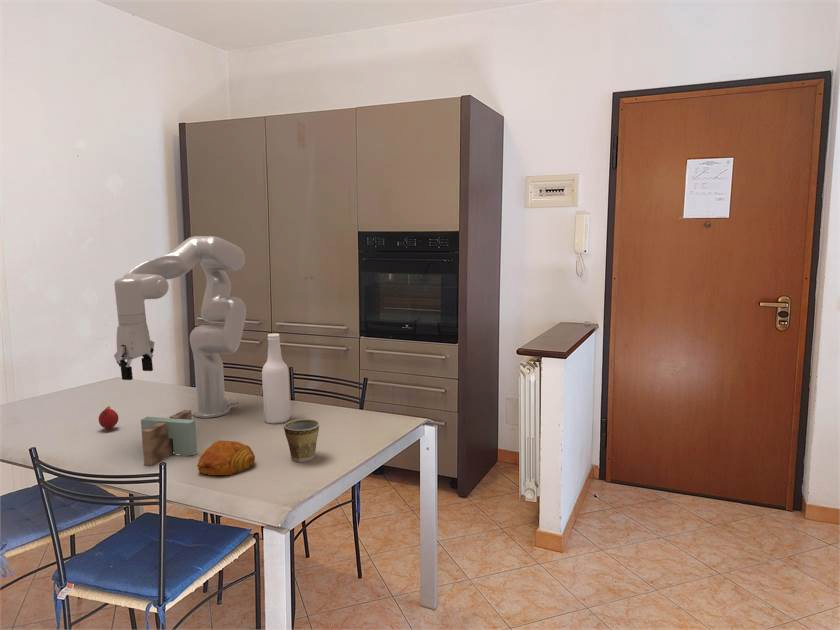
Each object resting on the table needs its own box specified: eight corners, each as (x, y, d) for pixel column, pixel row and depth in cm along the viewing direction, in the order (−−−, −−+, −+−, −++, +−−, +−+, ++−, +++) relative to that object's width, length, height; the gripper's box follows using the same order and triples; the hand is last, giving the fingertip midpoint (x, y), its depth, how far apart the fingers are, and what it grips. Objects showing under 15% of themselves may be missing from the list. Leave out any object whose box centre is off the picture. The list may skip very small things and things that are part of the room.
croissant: (222, 462, 182) (218, 435, 181) (264, 462, 175) (260, 435, 174) (185, 479, 169) (181, 450, 168) (229, 480, 162) (225, 451, 161)
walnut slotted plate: (186, 440, 193) (184, 409, 191) (193, 441, 192) (191, 410, 191) (144, 465, 174) (141, 430, 172) (152, 465, 173) (149, 431, 172)
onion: (111, 433, 201) (109, 409, 199) (95, 432, 202) (93, 408, 200) (122, 427, 206) (121, 404, 205) (107, 426, 207) (105, 403, 206)
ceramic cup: (322, 462, 175) (321, 428, 173) (286, 466, 172) (285, 431, 171) (316, 446, 187) (315, 414, 186) (283, 450, 184) (281, 417, 183)
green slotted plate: (143, 452, 184) (140, 419, 182) (149, 448, 186) (147, 416, 185) (191, 456, 180) (189, 423, 178) (197, 452, 183) (195, 420, 181)
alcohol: (263, 417, 215) (259, 333, 211) (288, 415, 218) (285, 331, 213) (265, 425, 207) (261, 337, 203) (291, 422, 210) (288, 335, 205)
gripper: (139, 314, 192) (144, 367, 195) (100, 324, 175) (107, 382, 178) (160, 314, 191) (166, 368, 194) (124, 325, 174) (130, 383, 177)
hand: (137, 375), depth 186 cm, fingers open, 9 cm apart
